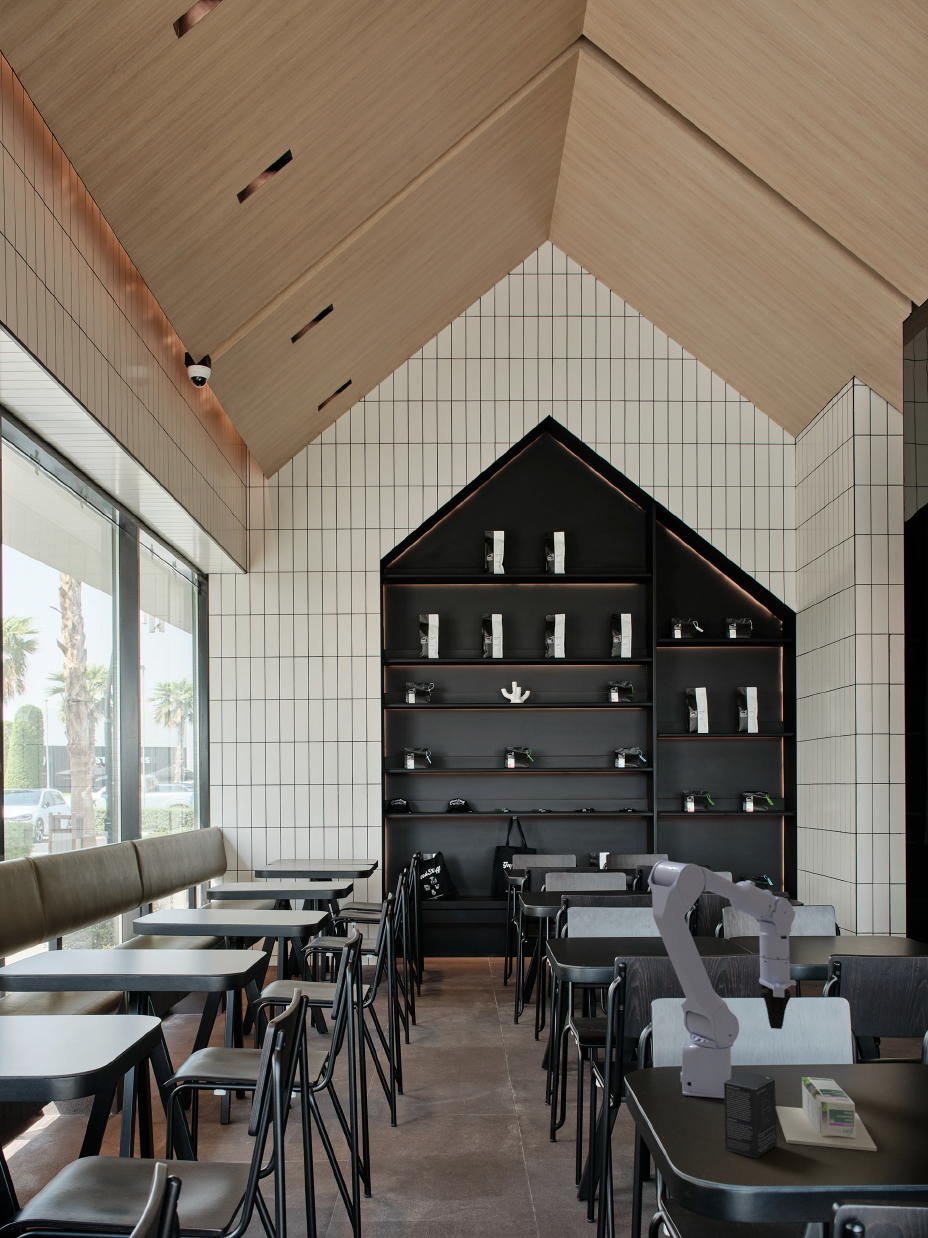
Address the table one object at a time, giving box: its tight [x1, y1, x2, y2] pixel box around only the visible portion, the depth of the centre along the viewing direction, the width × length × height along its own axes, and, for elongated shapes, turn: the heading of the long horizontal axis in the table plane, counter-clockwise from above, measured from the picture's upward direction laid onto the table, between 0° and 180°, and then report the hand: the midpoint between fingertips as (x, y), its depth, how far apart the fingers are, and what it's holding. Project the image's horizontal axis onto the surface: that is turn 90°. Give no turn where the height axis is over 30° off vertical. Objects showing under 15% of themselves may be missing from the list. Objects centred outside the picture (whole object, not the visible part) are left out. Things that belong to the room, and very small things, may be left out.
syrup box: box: [801, 1076, 856, 1139], centre depth 175 cm, size 6×6×14 cm
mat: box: [776, 1105, 878, 1152], centre depth 174 cm, size 14×18×1 cm
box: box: [723, 1071, 778, 1159], centre depth 165 cm, size 8×6×11 cm
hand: (776, 1028), depth 202 cm, fingers closed
